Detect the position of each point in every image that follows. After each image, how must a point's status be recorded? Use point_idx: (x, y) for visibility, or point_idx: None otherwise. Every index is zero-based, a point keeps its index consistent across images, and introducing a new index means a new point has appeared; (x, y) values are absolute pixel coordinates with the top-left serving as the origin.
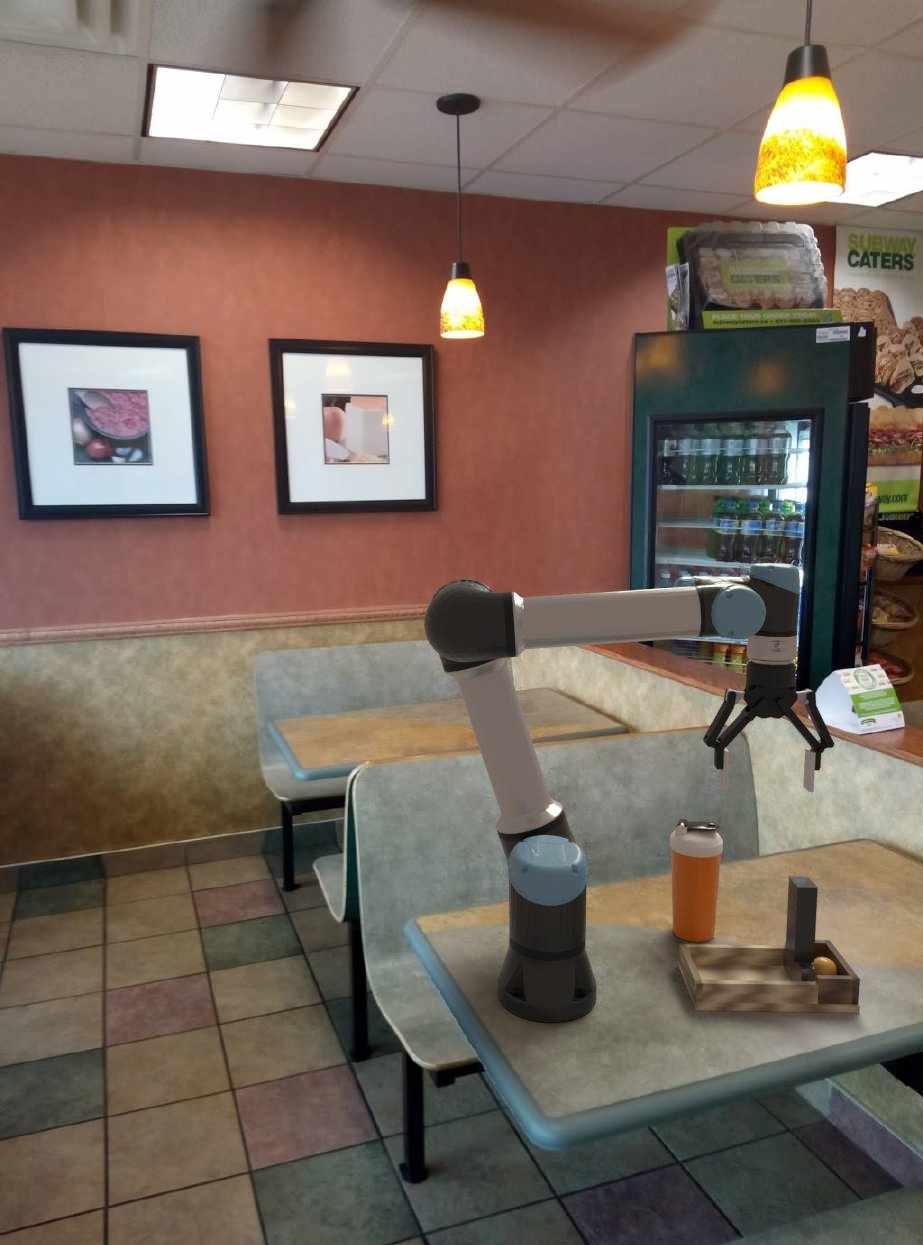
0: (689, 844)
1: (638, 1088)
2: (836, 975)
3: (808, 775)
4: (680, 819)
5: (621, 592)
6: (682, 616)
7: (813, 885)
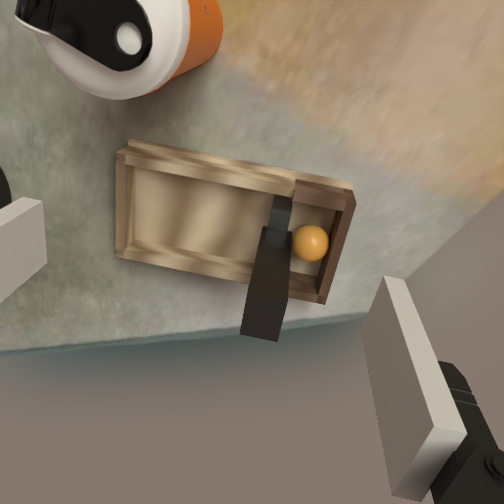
0: (69, 79)
1: (50, 339)
2: (299, 291)
3: (375, 368)
4: None
5: None
6: None
7: (274, 333)
